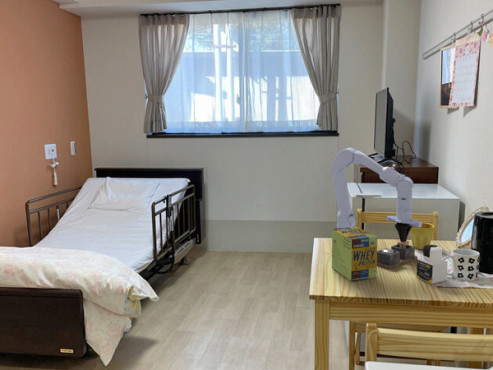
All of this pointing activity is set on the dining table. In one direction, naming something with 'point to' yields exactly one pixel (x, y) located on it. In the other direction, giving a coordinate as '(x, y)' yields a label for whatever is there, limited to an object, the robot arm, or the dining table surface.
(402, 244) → the terracotta plunger
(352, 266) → the protein box
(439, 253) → the medicine bottle
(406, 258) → the wooden cubby shelf
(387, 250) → the steel plunger
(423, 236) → the plant pot
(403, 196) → the robot arm
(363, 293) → the dining table surface
